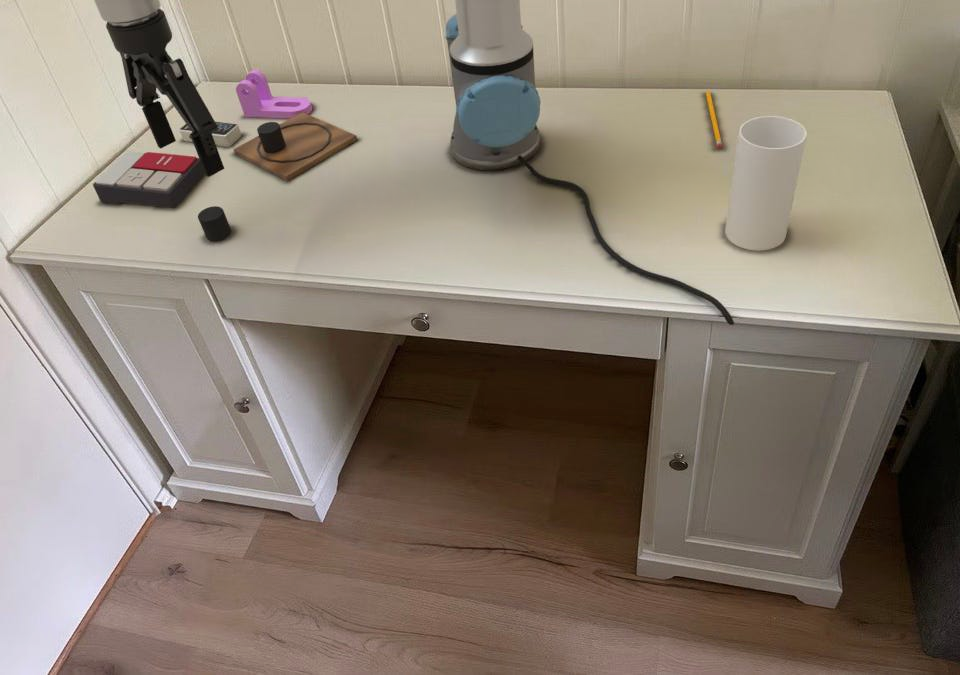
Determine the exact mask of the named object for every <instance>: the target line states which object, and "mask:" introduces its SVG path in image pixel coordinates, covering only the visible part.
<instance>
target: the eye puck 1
mask: <svg viewBox="0 0 960 675" xmlns="http://www.w3.org/2000/svg"><path fill="white" fill-rule="evenodd" d="M197 220H198V221H199V222H198V223H199V224H200V227H201V228H202V231H203V233H204V236H205V238H206V240H207V241H208V242H212V243H217V242H222V241H224V240H226V239H227V238H228V237H230V236H231V234H232V228H231V226H230V223H229V221H228V218H227V216H226V214H225V210H224V209H223V207H221V206H217V205H214V206H209V207H206V208H204V209H202V210H201V211H199V213H198V215H197Z"/></svg>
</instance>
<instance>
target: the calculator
mask: <svg viewBox="0 0 960 675" xmlns="http://www.w3.org/2000/svg"><path fill="white" fill-rule="evenodd" d="M204 175H206V174H205V172H204V169H203V167H202V164H201V162H200V159H199V157H197V156H192V155H184V154H174V153H162V152H152V151H146V152H142V151H132V150H126V151H125V152H124V153H123V154H122V155H121V156H120V157H119V158H118V159H117V160H116V161H115V162H114V163H113V164H112V165H111V166H110V167H109V168H108V169H107V170H106V171H105V172H103V173H102V174H101V175H100V176H99V178H97V179H96V180H95V182H94V183H92V187H93V189H94V191H95V193H96V195H97V197H98V199H99V202H100V203H104V204H114V205H119V204H122V203H129V204H137V205H146V206H153V207H154V206H156V207H163V208H171V209H172V208H173V209H174V208H177V207H178V206H179V204H180V203H181V202H182V201H183V200H184V199H185V197H186V196H188V194H189V193H190V191H192V189H194V187H195V186H196V185H197V184H198V183H199V182H200V180H201V179H202V178H203V177H204Z"/></svg>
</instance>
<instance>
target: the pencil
mask: <svg viewBox="0 0 960 675" xmlns="http://www.w3.org/2000/svg"><path fill="white" fill-rule="evenodd" d="M705 95H706V96H705V97H706V101H707V106H708V110H709V114H710V119H711V124H712V129H713V133H714V137H715V143H716V147H717V150H722V148H723V142H722V139H721V133H720V130H719V124H718V121H717V115H716V112H715V106H714V102H713V98H712V94H711V91H707V92H706V93H705Z"/></svg>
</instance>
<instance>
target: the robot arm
mask: <svg viewBox="0 0 960 675" xmlns="http://www.w3.org/2000/svg"><path fill="white" fill-rule="evenodd" d="M93 1H94V3H95V6H96V8H97V10H98V13H99V15H100V17H101V19H102V20H103V21H104V22H106V24H105V28H106V30H107V32H108V34H109V37H110V39H111V41H112V42H111V43H112V44H113V47H114V49H115V50H116V52H118V53H119V55H120V58H121V63H122V67H123V71H124V72H123V73H124V77H125V81H126V82H125V83H126V86H127V87H126V88H127V92H128V96H129V97H130V98H131V99H132V100H135V101H136V103H137V105H139V107H141V110H142V112H143V115H144V117H145V119H146V122H147V124H148V127H149V129H150V131H151V133H152V136H153V138H154V140H155V143H156V145H157V147H158V148H159V149H163V148H165V147H167V146H169V145H171V144H173V143H176V142H177V140H176V137H175V135H174V132H173V129H172V128H171V125H170V122H169V120H168V117H167V115H166V113H165V110H164V107H163V105H162V102H161V101H160V100H158V99H160V98H161V96H160V95H159V94H158V92H159V93H160V94H161V95H163V96H166V97H167V98H168V100H169V102H170V103H171V104H172V106H173V107H174V109H175V110H176V111H177V113H178V114H179V115H180V117H181V119H182V120H183V121H184V123H185V124H187V126H188V127H189V129H190V130H191V131H192V133H191V134H190V136H189V138H190V139H192V141H193V142H192V144H193V146H194V149H195V151H196V154H197V157H198V158H199V159H200V162H201V164H202V167H203V169H204V172H205V174H204V175H205V176H206V177H208V178H210V177H211V176H214V175H216V174H217V173H219V172H221V171H224V170H225V166H224V163H223V161H222V158H221V156H220V152H219V150H218V147H217V145H216V144H215V141H214V139H213V136H212V133H211V132H212V131H214V130H216V129H218V126H217V124H216V123H215V119H214V117H213V115H212V114H211V111H210V110H209V109H208V107H207V105H206V103H205V102H204V100H203V98H202V97H201V95H200V93H199V91H198V89H197V87H196V86H195V84H194V82H193V80H192V79H191V77H190V76H189V73H188V71H187V68H186V65H185V63H184V61H183V60H182V58H176V59H174V60H173V58H172V57H171V56H170V54H169V53H168V52H167V50H166V48H167V46H168V44H169V43H170V42H171V41H172V39H173V32H172V29H171V27H170V25H169V21H168V19H167V16H166V14H165V12H164V10H163V9H161V4H162V3H161V1H160V0H93ZM454 3H455V11H456V12H455V13H456V14H453V15H451V17H449V19H448V20H447V21H446V23H445V33H446V35H445V36H444V37H445V40H446V42H447V49H448V50H447V51H448V56H449V64H450V72H451V78H452V86H453V87H452V88H453V93H454V101H455V115H454V121H453V128H452V132H451V135H450V142H449V144H450V151H451V155H452V157H453V159H454V160H455V161H456V162H458V163H459V164H460V165H462V166H463V167H467V168H470V169H474V170H479V171H499V170H506V169H509V168H514V167H517V166H519V165H523V166H524V167H525V168H526V169H527V170H528V171H529V172H530V173H531V175H532V176H534V177H535V178H536V179H537V180H540V181H542V182H545V183H548V184H551V185H557V186H562V187H567V188H569V189H570V188H571V189H572V190H574V191H576V192H578V193H579V195H580V196H581V197H582V200H583V203H584V209H585V213H586V215H587V218H588V221H589V223H590V226H591V229H592V232H593V234H594V236H595V238H596V240H597V241H598V243H599V244H600V246H601V247H602V248H603V249H604V250H605V251H606V252H607V253H608V255H610V256H611V257H612V258H613V259H614V260H615V261H616V262H618V263H619V264H621V265H623V266H624V267H626V268H627V269H629V270H631V271H633V272H635V273H637V274H639V275H641V276H643V277H646V278H648V279H652V280H656V281H659V282H663V283H666V284H669V285H672V286H675V287H677V288H680V289H682V290H685V291H686V292H689V293H690V294H693V295H695V296H697V297H699V298H702V299H704V300H705V301H708V302H709V303H710V304H712V305H713V306H714V307H715V308H716V309H717V310H718V311H719V312H720V314H721V315H722V316H723V318H724V319H725V321H726V323H727V324H728V325H730V326H733V325H735V321H734V319H733V317H732V315H731V314H730V312H729V311H728V310H727V308H726V307H725V306H724V305H723V304H722V302H721V301H719V300H718V299H717V298H715V297H714V296H712V295H711V294H709V293H706V292H705V291H702V290H700V289H698V288H695V287H693V286H691V285H690V284H687V283H684V282H682V281H681V280H678V279H675V278H672V277H669V276H666V275H662V274H658V273H654V272H650V271H648V270H645V269H643V268H641V267H639V266H636V265H635V264H633V263H631V262H630V261H628V260H626V259H625V258H624V257H622V256H620V255H619V254H618V253H617V252H616V251H615V250H614V249H612V247H611V246H610V245H609V244H608V243H607V242H606V240H605V239H604V238H603V236H602V234H601V232H600V230H599V227H598V224H597V222H596V220H595V219H596V218H595V217H594V215H593V211H592V209H591V204H590V199H589V196H588V194H587V193H586V191H585V190H584V189H583V188H582V187H581V186H579V185H578V184H576V183H573V182H571V181H567V180H562V179H555V178H551V177H548V176H545V175H542V174H540V173H539V172H538V171H537V170H536V169H535V168H534V167H533V166H532V165H531V163H529V161H528V160H530V159H531V158H533V157H534V156H535V155H536V153H538V151H539V149H540V145H541V139H540V137H541V136H540V131H539V128H538V125H537V123H538V121H539V118H540V115H541V114H540V113H541V97H540V95H539V92H538V89H537V87H536V75H535V56H534V41H533V40H534V38H532V36H531V35H530V34H529V33H528V32H526V31H525V30H524V29H523V25H522V18H521V17H522V16H521V15H522V14H521V0H454ZM157 90H158V92H157ZM156 100H157V101H156Z"/></svg>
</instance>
